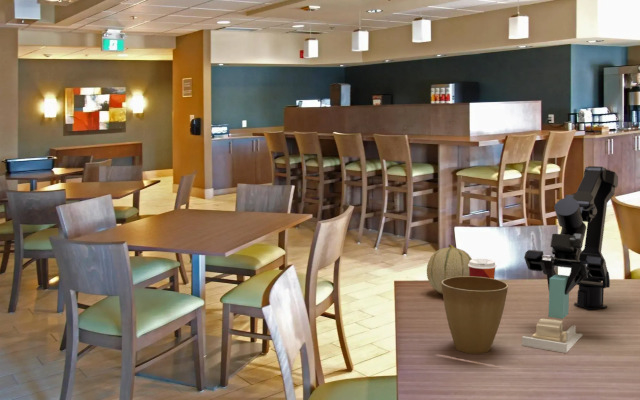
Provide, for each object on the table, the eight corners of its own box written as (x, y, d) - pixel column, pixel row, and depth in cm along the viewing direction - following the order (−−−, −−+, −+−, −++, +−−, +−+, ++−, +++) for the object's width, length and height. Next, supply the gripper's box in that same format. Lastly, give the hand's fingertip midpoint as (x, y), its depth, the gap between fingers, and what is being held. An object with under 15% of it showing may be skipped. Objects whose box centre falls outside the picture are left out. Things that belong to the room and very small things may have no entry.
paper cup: (496, 314, 190) (497, 264, 189) (467, 313, 192) (468, 263, 190) (494, 307, 198) (495, 258, 196) (467, 305, 200) (467, 257, 198)
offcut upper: (540, 328, 167) (540, 318, 167) (562, 331, 165) (562, 320, 165) (536, 335, 162) (536, 325, 162) (558, 338, 160) (559, 327, 160)
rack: (541, 330, 176) (542, 320, 176) (583, 336, 171) (583, 326, 170) (521, 347, 163) (522, 336, 163) (565, 355, 158) (566, 344, 157)
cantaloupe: (437, 302, 203) (438, 251, 202) (419, 290, 218) (419, 243, 216) (484, 299, 207) (485, 249, 205) (462, 287, 221) (463, 240, 219)
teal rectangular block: (554, 311, 173) (555, 274, 171) (568, 314, 171) (569, 275, 170) (548, 316, 168) (549, 278, 167) (562, 319, 167) (564, 280, 165)
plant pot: (494, 365, 152) (496, 293, 150) (430, 354, 159) (431, 285, 158) (514, 346, 164) (516, 279, 162) (454, 336, 172) (455, 272, 170)
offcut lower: (540, 337, 169) (540, 327, 168) (566, 341, 165) (566, 331, 165) (531, 345, 163) (532, 335, 162) (558, 350, 159) (558, 339, 159)
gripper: (527, 218, 175) (512, 269, 167) (606, 223, 165) (593, 278, 157) (536, 244, 183) (521, 294, 175) (611, 251, 172) (600, 304, 165)
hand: (557, 292), depth 168 cm, fingers closed on teal rectangular block, 3 cm apart
